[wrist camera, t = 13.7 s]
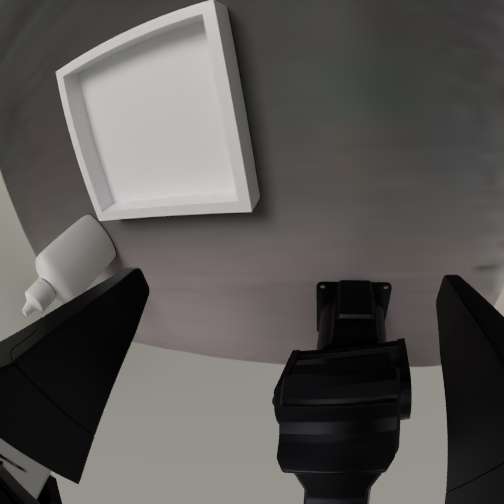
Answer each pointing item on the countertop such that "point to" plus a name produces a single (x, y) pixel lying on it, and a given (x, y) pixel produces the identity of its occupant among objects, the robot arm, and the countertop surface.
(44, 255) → the eye dropper bottle
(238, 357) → the countertop surface
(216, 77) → the tray
